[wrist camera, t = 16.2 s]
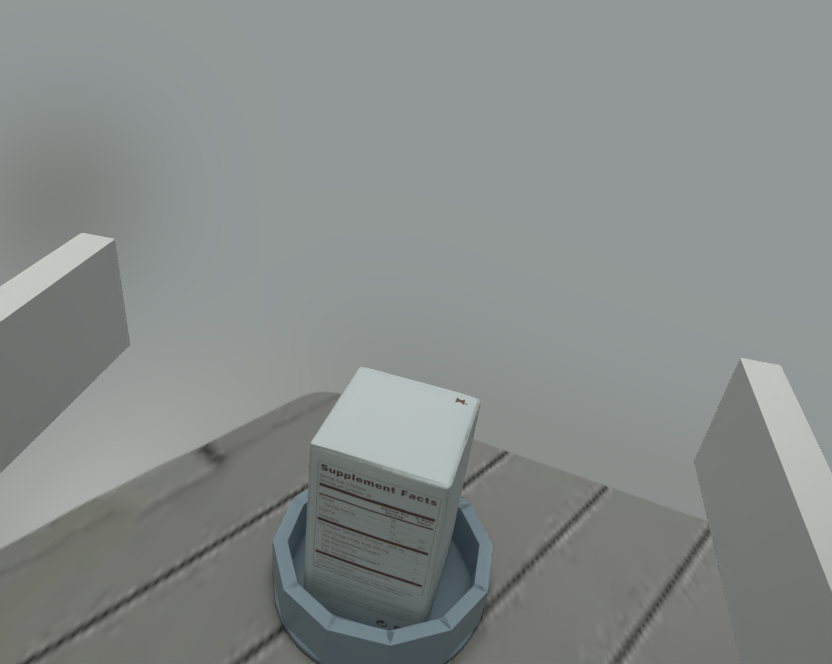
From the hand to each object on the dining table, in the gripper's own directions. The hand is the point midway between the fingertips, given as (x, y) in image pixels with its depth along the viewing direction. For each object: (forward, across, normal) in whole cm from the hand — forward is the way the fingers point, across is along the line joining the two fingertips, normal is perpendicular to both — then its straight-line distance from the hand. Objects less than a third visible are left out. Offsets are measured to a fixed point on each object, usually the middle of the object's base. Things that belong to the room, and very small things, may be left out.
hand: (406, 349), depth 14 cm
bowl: (+15, -2, -28) cm, 32 cm away
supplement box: (+15, -2, -27) cm, 31 cm away
